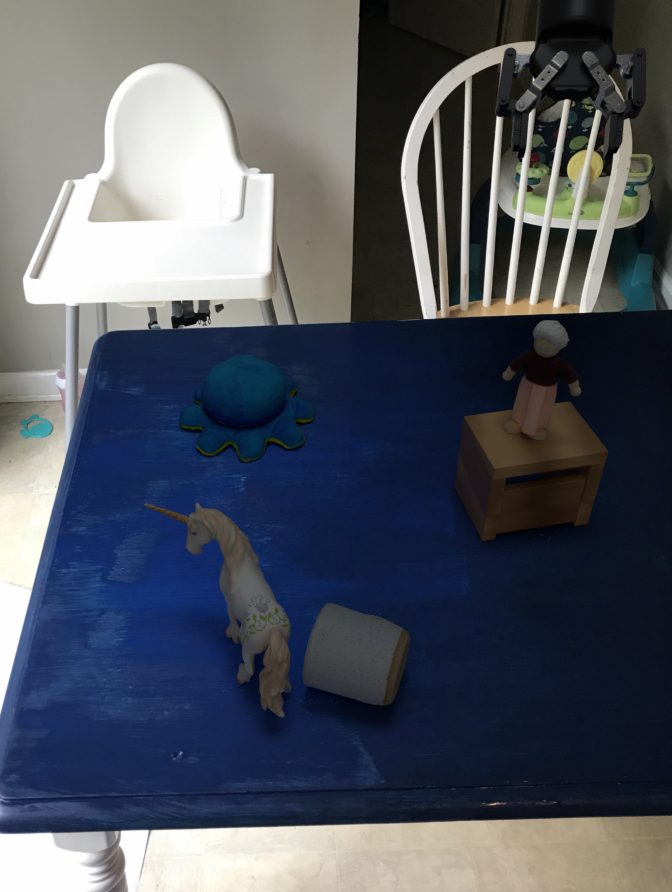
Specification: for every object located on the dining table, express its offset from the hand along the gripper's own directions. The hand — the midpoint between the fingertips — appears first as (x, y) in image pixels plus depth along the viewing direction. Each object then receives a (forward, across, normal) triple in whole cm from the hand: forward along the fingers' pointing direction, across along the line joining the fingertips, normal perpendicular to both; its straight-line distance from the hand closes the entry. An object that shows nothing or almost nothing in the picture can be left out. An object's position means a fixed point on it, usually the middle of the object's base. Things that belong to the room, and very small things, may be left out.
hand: (564, 155), depth 84 cm
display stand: (+35, 0, -10) cm, 36 cm away
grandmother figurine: (+28, +1, -4) cm, 28 cm away
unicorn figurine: (+53, +29, +7) cm, 60 cm away
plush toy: (+26, +34, -19) cm, 47 cm away
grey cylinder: (+52, +16, +7) cm, 55 cm away
